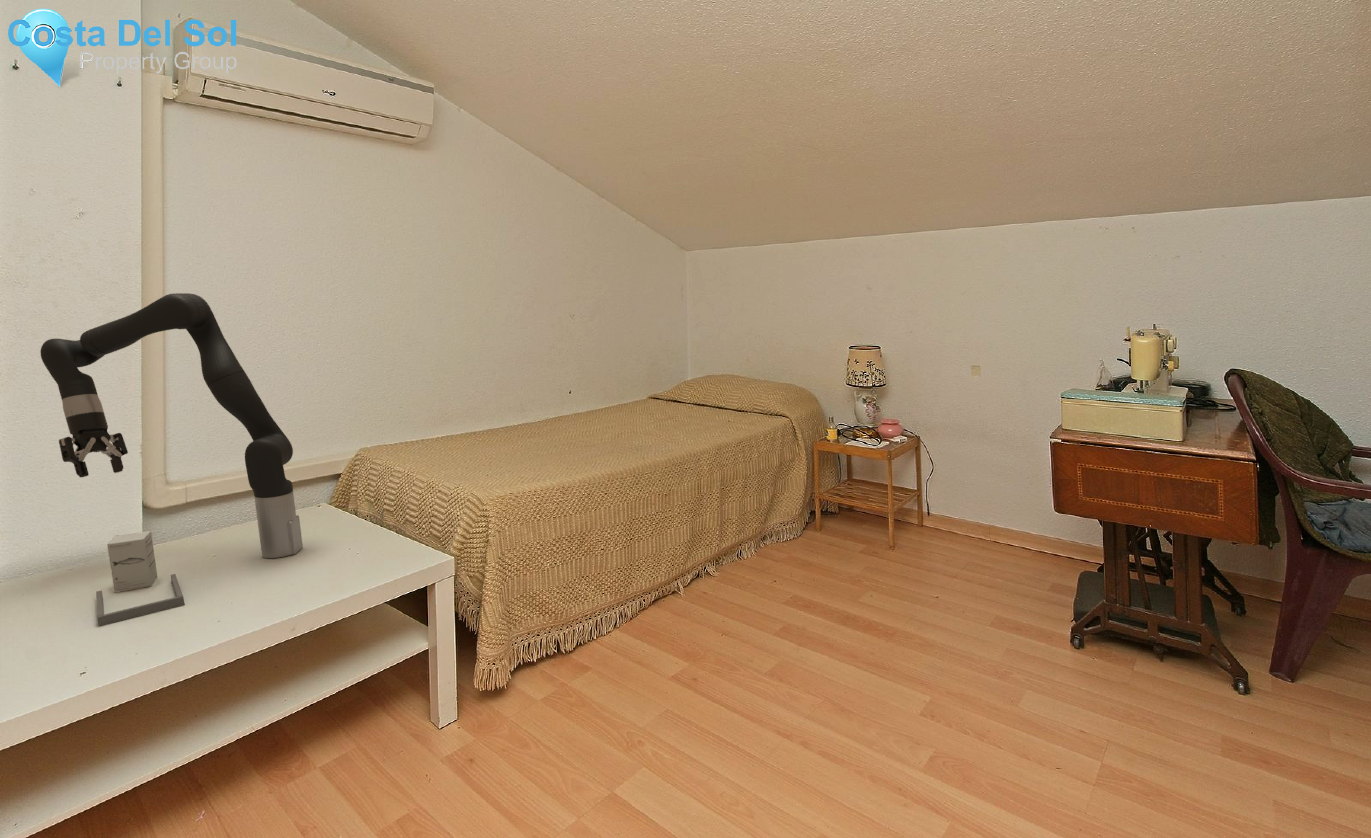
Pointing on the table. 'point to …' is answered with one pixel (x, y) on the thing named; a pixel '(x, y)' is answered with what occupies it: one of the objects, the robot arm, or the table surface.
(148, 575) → the supplement box
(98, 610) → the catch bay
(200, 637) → the table surface
